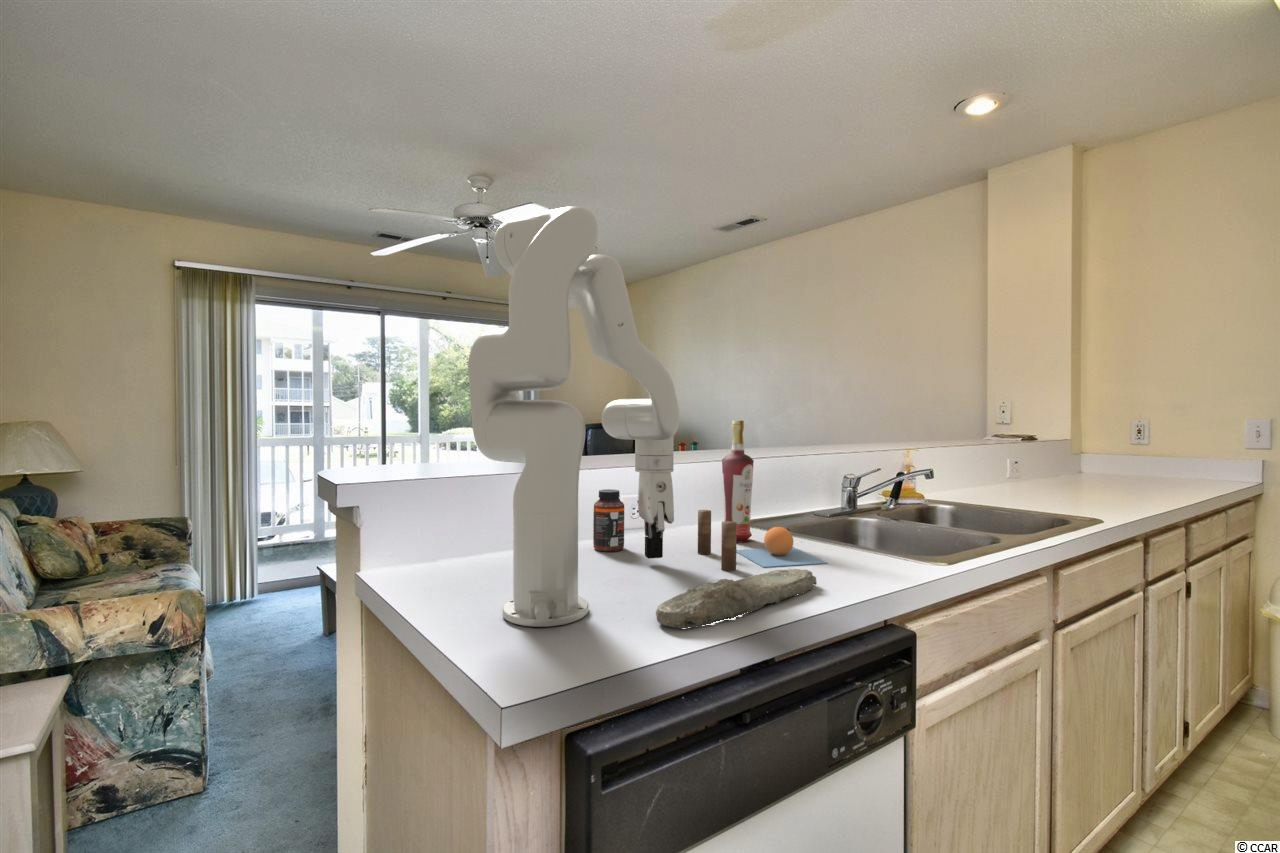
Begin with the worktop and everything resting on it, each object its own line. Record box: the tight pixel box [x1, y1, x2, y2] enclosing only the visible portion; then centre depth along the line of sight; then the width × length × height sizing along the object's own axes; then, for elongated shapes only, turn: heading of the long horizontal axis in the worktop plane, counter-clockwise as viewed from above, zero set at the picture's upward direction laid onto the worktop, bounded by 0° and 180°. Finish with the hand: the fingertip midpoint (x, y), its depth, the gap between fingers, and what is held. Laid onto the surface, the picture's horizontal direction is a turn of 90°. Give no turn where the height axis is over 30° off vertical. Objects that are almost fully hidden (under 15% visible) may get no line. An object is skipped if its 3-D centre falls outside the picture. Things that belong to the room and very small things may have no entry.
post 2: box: [720, 520, 737, 572], centre depth 112 cm, size 3×3×9 cm
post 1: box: [697, 509, 712, 556], centre depth 125 cm, size 3×3×9 cm
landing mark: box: [736, 546, 829, 568], centre depth 122 cm, size 14×14×1 cm
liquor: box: [721, 420, 754, 543], centre depth 138 cm, size 7×7×28 cm
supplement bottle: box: [592, 488, 625, 553], centre depth 128 cm, size 7×7×13 cm
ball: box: [763, 526, 794, 556], centre depth 123 cm, size 6×6×6 cm
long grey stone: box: [655, 568, 817, 629], centre depth 93 cm, size 35×5×10 cm
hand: (653, 557), depth 115 cm, fingers closed
